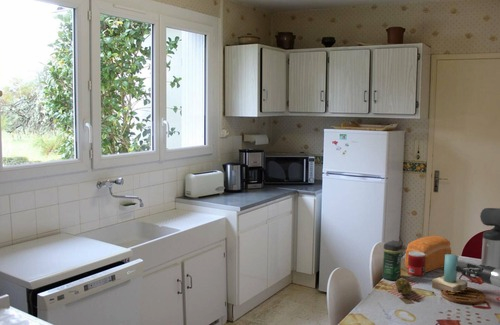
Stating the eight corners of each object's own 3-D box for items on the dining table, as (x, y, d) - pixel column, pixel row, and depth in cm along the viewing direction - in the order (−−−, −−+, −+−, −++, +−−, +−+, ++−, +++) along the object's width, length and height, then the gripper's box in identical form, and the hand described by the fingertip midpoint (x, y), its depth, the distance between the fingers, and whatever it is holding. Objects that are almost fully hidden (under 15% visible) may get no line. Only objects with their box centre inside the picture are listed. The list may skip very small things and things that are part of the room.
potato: (417, 292, 225) (418, 275, 224) (406, 300, 215) (407, 283, 214) (400, 288, 230) (401, 271, 229) (388, 296, 220) (389, 278, 219)
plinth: (446, 283, 237) (446, 275, 237) (467, 290, 228) (467, 282, 228) (431, 287, 231) (432, 279, 231) (452, 294, 222) (453, 286, 222)
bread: (402, 267, 261) (403, 238, 260) (429, 258, 277) (431, 231, 276) (425, 274, 250) (426, 244, 249) (452, 264, 267) (454, 236, 265)
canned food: (425, 277, 246) (426, 256, 245) (408, 276, 247) (409, 254, 246) (422, 272, 253) (424, 251, 252) (406, 271, 255) (407, 250, 254)
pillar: (448, 278, 233) (449, 253, 232) (458, 281, 228) (460, 256, 227) (441, 280, 230) (442, 255, 229) (451, 283, 225) (453, 258, 224)
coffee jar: (395, 282, 238) (396, 245, 236) (379, 278, 243) (381, 242, 241) (402, 277, 246) (404, 241, 244) (388, 273, 251) (389, 238, 249)
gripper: (505, 265, 214) (471, 256, 227) (487, 271, 206) (452, 261, 219) (504, 282, 214) (470, 272, 228) (486, 288, 207) (452, 277, 220)
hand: (461, 266), depth 224 cm, fingers open, 8 cm apart
